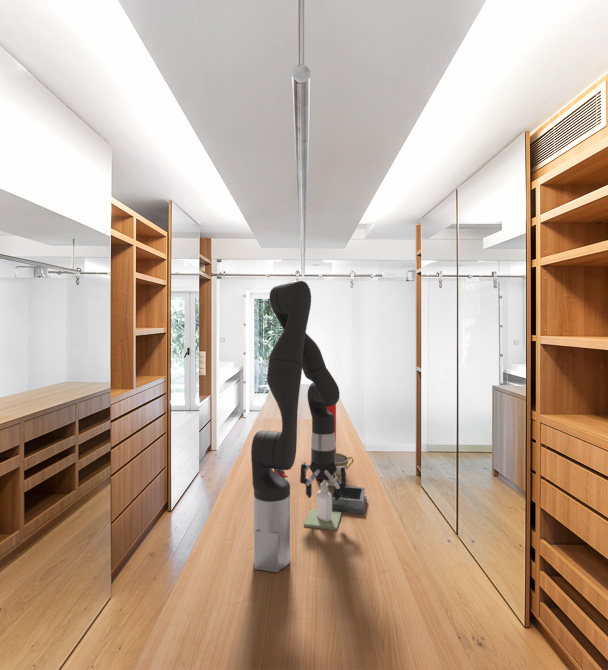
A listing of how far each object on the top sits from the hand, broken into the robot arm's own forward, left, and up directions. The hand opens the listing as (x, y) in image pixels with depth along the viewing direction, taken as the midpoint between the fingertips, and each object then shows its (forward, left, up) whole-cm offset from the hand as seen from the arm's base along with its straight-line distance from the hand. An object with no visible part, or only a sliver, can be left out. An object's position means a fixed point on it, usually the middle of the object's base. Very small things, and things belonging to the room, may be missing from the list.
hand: (323, 498), depth 122 cm
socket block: (+13, -6, -7) cm, 16 cm away
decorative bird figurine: (+24, +21, -7) cm, 33 cm away
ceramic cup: (+31, 0, -7) cm, 32 cm away
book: (+45, +8, -7) cm, 46 cm away
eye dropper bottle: (0, 0, -6) cm, 6 cm away
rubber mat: (0, 0, -7) cm, 7 cm away
